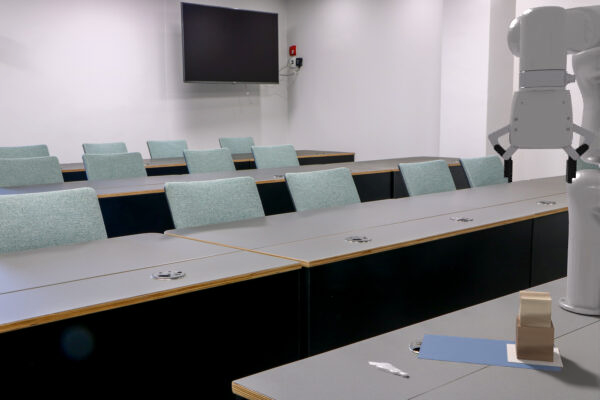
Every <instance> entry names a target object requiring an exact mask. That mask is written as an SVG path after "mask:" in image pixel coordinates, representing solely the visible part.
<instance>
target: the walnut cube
mask: <svg viewBox="0 0 600 400" xmlns="http://www.w3.org/2000/svg"><path fill="white" fill-rule="evenodd" d="M515 341H516V344H515V348H516V356H517V359H522V360H533V361H545V362H553V355H554V347H555V327H554V323H553V321H552V319H551V328H542V327H528V326H520V320H519V315H516V317H515Z"/></svg>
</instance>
